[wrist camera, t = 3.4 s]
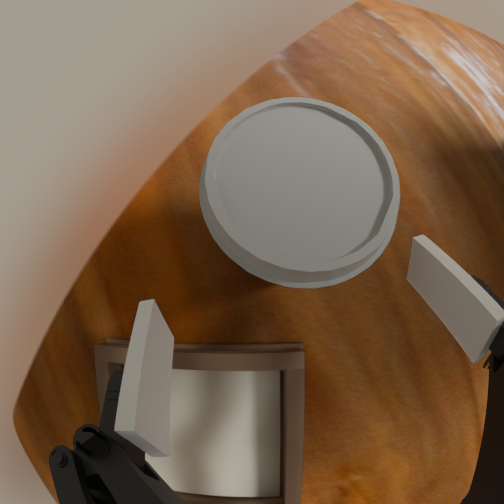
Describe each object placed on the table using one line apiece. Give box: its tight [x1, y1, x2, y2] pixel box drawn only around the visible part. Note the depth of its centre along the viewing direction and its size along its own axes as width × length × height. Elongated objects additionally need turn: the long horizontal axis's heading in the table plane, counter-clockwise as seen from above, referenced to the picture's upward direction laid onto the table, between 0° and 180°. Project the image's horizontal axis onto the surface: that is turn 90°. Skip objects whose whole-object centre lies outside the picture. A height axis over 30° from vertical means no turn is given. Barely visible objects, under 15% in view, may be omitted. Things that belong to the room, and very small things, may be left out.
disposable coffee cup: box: [199, 97, 400, 288], centre depth 17 cm, size 10×10×12 cm
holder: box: [94, 338, 305, 504], centre depth 18 cm, size 16×16×4 cm
